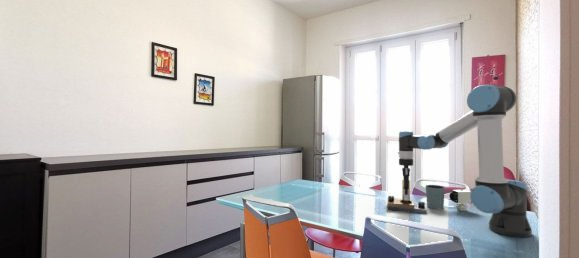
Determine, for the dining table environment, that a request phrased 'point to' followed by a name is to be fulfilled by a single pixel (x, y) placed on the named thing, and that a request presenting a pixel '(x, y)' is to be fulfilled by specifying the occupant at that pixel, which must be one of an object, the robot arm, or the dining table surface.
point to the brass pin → (403, 193)
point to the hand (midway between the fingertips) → (406, 199)
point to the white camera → (461, 198)
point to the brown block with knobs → (405, 206)
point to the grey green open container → (435, 196)
